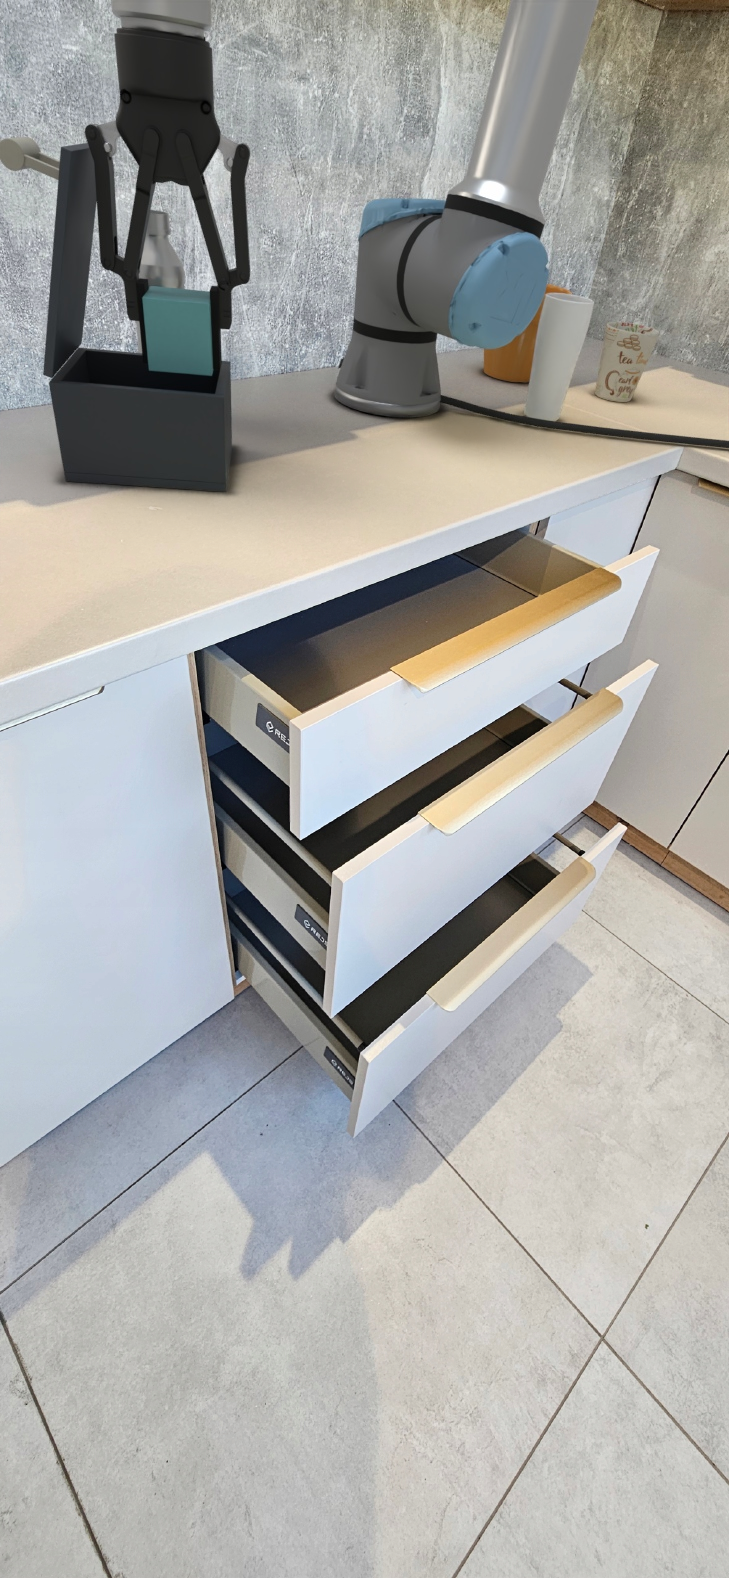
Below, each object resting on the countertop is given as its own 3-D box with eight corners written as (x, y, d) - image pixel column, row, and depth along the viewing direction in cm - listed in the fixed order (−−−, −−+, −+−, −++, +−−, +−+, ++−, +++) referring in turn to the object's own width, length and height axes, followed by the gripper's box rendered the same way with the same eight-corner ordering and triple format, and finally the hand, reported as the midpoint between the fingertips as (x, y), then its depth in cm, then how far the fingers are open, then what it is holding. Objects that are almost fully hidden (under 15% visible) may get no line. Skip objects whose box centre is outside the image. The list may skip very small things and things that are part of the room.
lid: (102, 145, 66) (29, 113, 65) (71, 151, 56) (-16, 112, 55) (81, 344, 77) (18, 320, 75) (52, 378, 67) (-22, 352, 65)
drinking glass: (514, 418, 106) (541, 296, 96) (522, 407, 111) (549, 290, 101) (559, 428, 105) (592, 305, 95) (566, 417, 110) (598, 299, 100)
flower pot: (551, 373, 130) (572, 287, 122) (548, 392, 120) (571, 299, 111) (473, 360, 132) (489, 273, 123) (463, 378, 121) (480, 284, 113)
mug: (584, 397, 120) (603, 326, 113) (595, 382, 129) (613, 316, 122) (634, 407, 118) (657, 336, 112) (642, 391, 127) (664, 325, 121)
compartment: (232, 447, 85) (230, 361, 79) (226, 492, 75) (223, 397, 69) (90, 436, 83) (78, 347, 77) (65, 481, 73) (48, 382, 67)
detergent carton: (215, 360, 76) (213, 291, 72) (212, 376, 71) (209, 303, 67) (156, 355, 75) (150, 285, 71) (148, 371, 70) (142, 297, 66)
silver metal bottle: (182, 423, 89) (169, 218, 76) (129, 414, 90) (108, 209, 77) (201, 410, 94) (192, 214, 81) (151, 401, 95) (134, 205, 81)
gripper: (284, 51, 61) (278, 362, 77) (47, 17, 59) (91, 345, 74) (284, 45, 56) (278, 381, 71) (24, 7, 53) (76, 363, 69)
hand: (183, 362), depth 73 cm, fingers closed on detergent carton, 6 cm apart
